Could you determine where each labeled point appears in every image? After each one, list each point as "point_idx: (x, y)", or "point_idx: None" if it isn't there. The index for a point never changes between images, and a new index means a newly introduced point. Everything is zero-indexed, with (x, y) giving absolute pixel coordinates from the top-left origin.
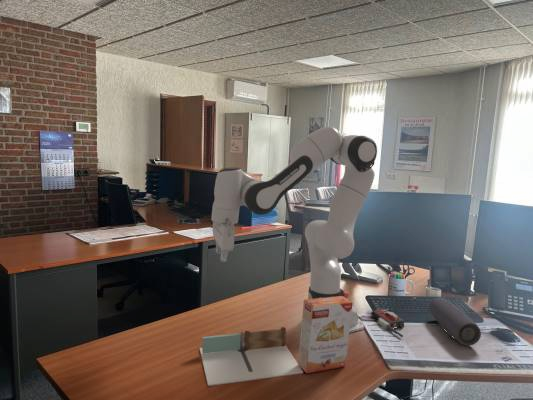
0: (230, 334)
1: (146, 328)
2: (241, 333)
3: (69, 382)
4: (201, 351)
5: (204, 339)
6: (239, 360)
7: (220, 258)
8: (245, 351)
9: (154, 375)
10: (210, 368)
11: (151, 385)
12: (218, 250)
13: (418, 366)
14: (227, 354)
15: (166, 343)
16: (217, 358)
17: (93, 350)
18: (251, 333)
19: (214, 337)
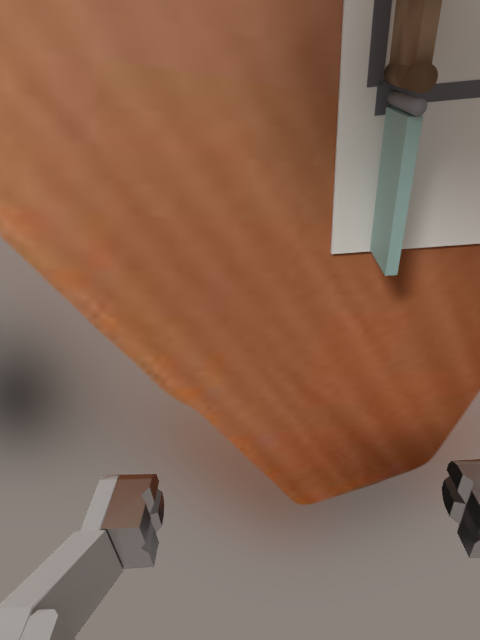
0: (403, 166)
1: (177, 384)
2: (423, 112)
3: (387, 469)
4: (356, 249)
5: (397, 267)
6: (465, 118)
7: (460, 516)
8: None
9: (426, 355)
10: (467, 227)
11: (465, 358)
12: (154, 526)
13: None
14: None
15: (273, 337)
16: (418, 200)
17: (277, 457)
18: (433, 50)
19: (403, 234)
